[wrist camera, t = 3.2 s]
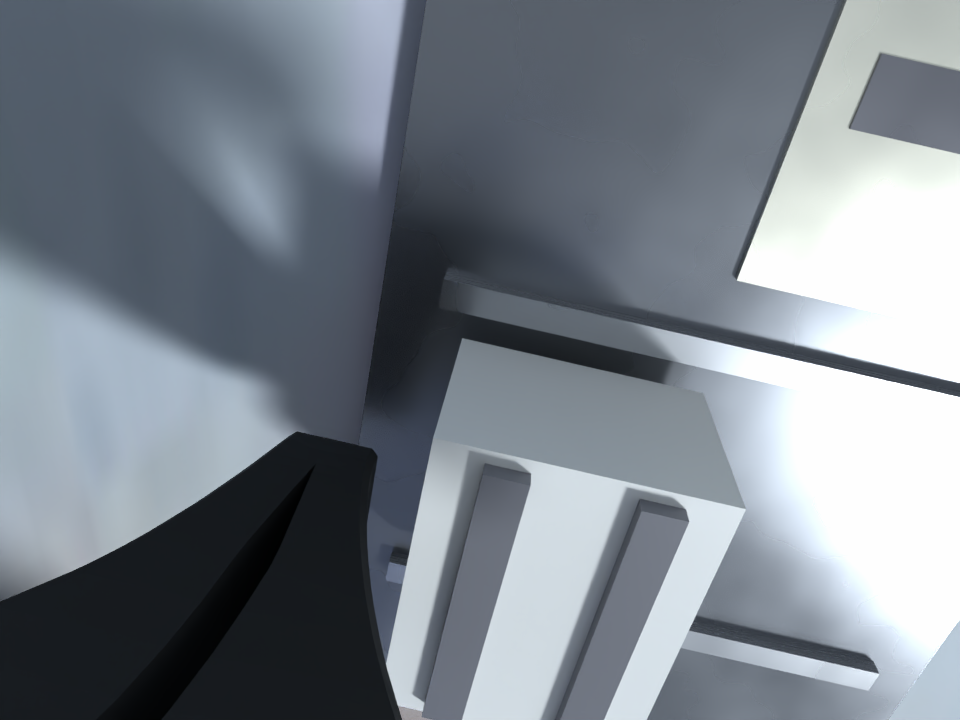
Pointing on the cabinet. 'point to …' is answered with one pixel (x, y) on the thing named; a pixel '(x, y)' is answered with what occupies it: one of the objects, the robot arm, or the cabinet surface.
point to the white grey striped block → (558, 542)
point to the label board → (708, 300)
